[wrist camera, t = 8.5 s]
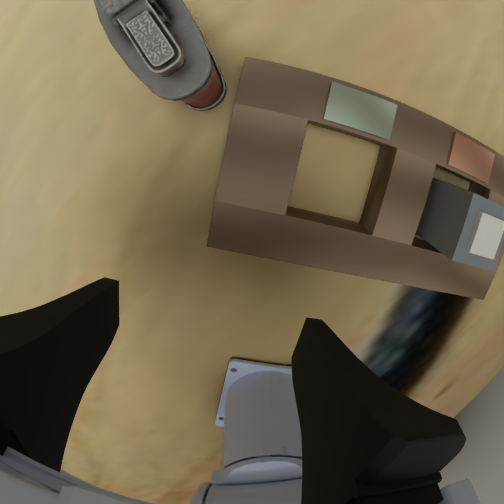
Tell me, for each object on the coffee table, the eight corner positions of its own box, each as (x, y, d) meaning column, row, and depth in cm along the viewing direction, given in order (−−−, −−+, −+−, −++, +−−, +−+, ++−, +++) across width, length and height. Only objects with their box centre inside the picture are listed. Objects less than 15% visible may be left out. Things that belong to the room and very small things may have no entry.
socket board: (468, 286, 22) (485, 301, 19) (211, 232, 20) (205, 248, 18) (508, 167, 18) (530, 173, 15) (246, 66, 16) (245, 55, 14)
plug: (446, 238, 21) (495, 273, 15) (407, 227, 20) (455, 263, 14) (461, 189, 19) (516, 213, 13) (422, 174, 19) (477, 194, 13)
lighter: (132, 29, 15) (51, -26, 6) (176, 2, 14) (123, -78, 5) (191, 121, 18) (132, 114, 8) (239, 93, 17) (225, 54, 8)
